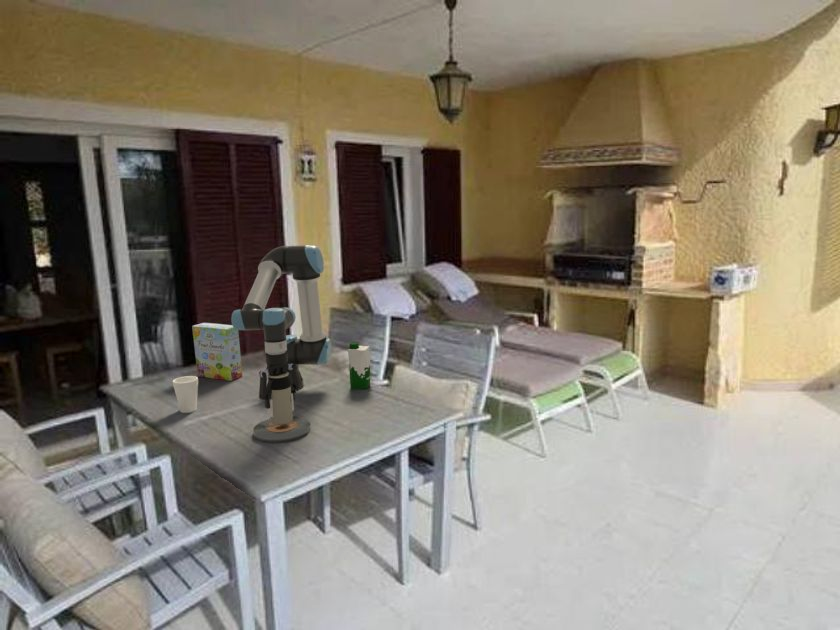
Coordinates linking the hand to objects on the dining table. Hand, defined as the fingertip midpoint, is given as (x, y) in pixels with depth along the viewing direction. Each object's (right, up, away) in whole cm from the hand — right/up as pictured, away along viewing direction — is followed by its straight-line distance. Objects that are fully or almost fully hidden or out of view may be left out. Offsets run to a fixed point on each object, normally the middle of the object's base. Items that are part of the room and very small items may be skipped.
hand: (280, 412), depth 203 cm
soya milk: (+23, +3, +50) cm, 56 cm away
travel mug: (0, -3, +1) cm, 3 cm away
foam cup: (-44, -4, +26) cm, 51 cm away
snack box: (-47, +5, +70) cm, 84 cm away
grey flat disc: (0, -7, +1) cm, 7 cm away
